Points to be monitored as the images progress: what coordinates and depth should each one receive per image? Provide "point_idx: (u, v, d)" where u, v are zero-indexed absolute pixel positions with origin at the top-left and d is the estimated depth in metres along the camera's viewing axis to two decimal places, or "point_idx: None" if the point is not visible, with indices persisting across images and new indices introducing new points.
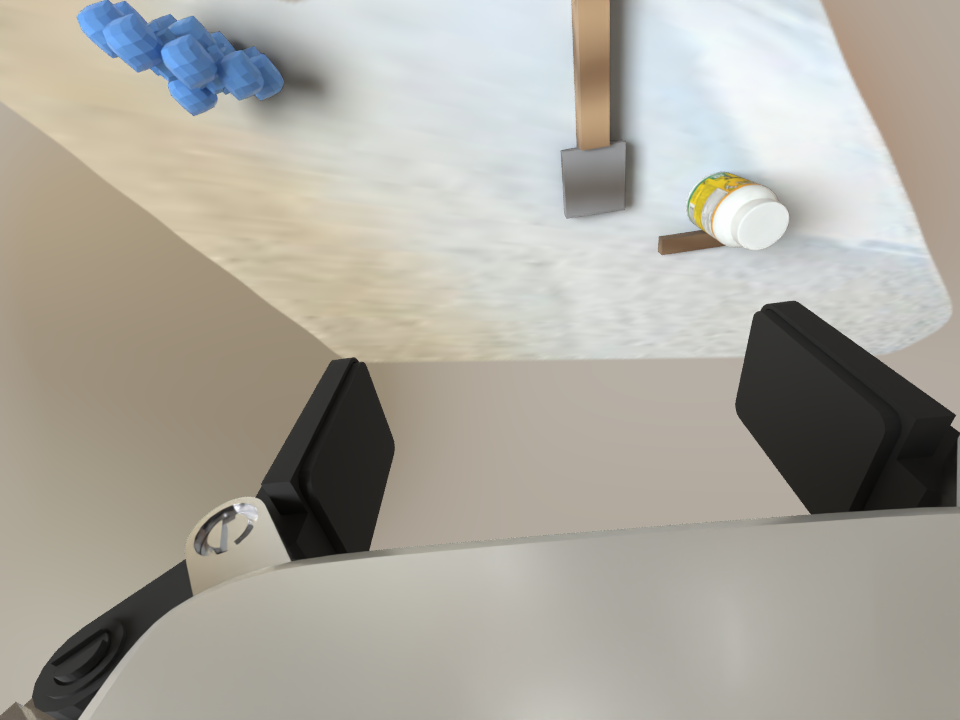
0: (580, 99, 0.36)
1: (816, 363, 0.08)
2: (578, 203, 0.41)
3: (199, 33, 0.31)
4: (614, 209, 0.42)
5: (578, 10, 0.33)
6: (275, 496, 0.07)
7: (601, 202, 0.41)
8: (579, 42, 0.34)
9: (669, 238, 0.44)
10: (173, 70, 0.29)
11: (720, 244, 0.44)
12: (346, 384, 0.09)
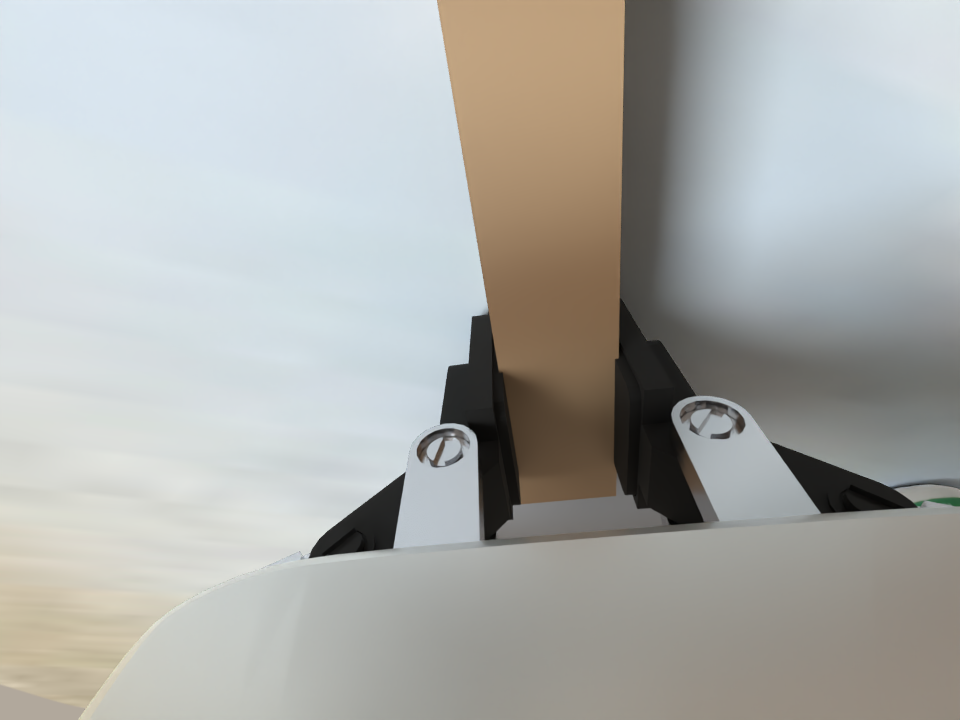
0: None
1: None
2: None
3: None
4: None
5: (445, 23, 0.06)
6: (475, 422, 0.08)
7: None
8: (470, 180, 0.07)
9: None
10: None
11: None
12: None
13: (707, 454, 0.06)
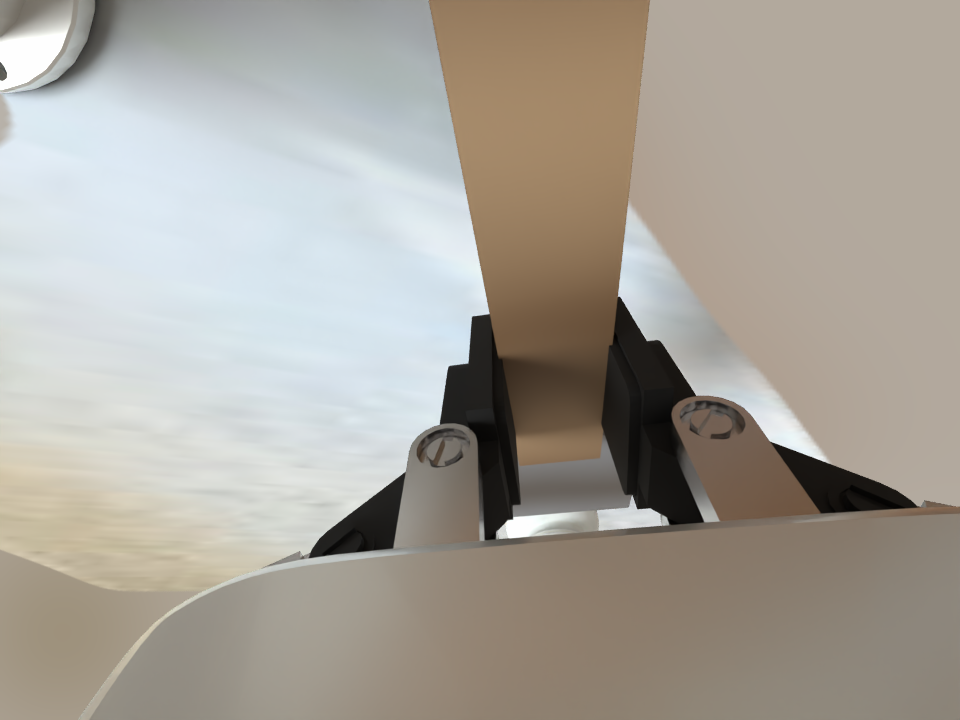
0: None
1: (609, 348, 0.09)
2: None
3: None
4: (604, 508, 0.17)
5: (454, 111, 0.06)
6: (474, 422, 0.08)
7: (575, 502, 0.17)
8: (479, 242, 0.07)
9: None
10: None
11: None
12: None
13: (707, 454, 0.06)
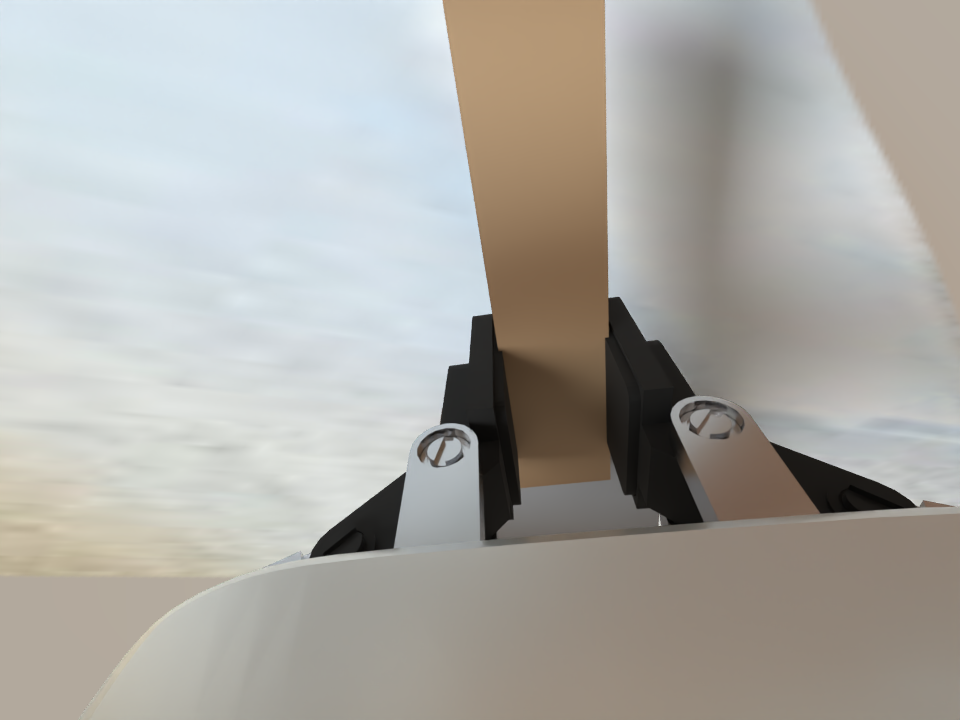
0: None
1: (609, 349, 0.09)
2: None
3: None
4: None
5: (452, 40, 0.07)
6: (475, 422, 0.08)
7: None
8: (473, 176, 0.08)
9: None
10: None
11: None
12: None
13: (706, 454, 0.06)
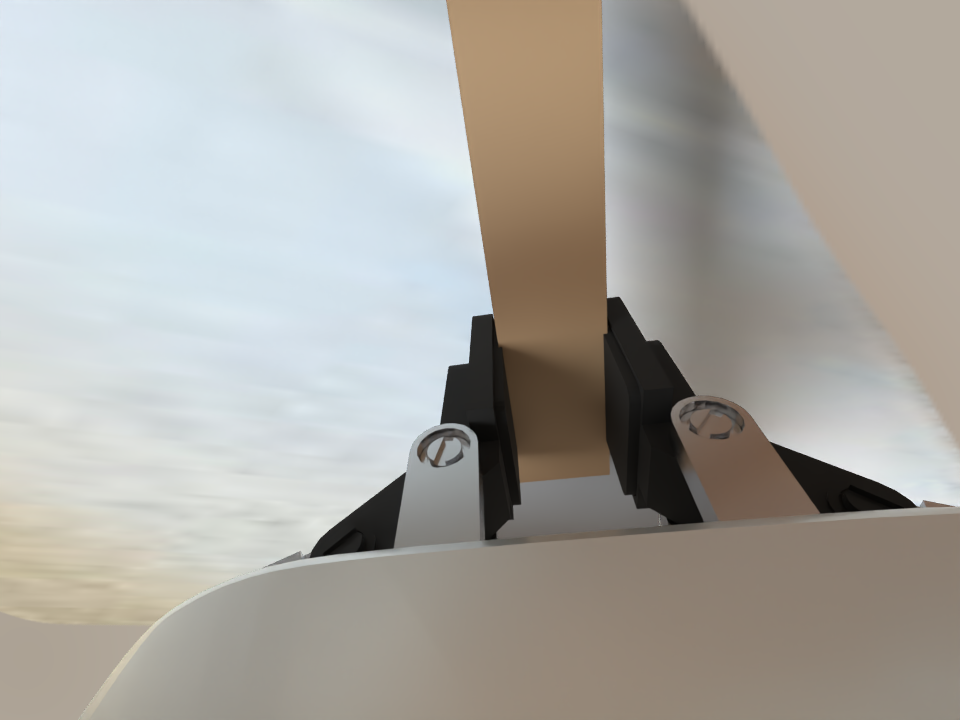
0: None
1: (609, 348, 0.09)
2: None
3: None
4: None
5: (454, 32, 0.07)
6: (475, 422, 0.08)
7: None
8: (474, 165, 0.08)
9: None
10: None
11: None
12: None
13: (706, 454, 0.06)
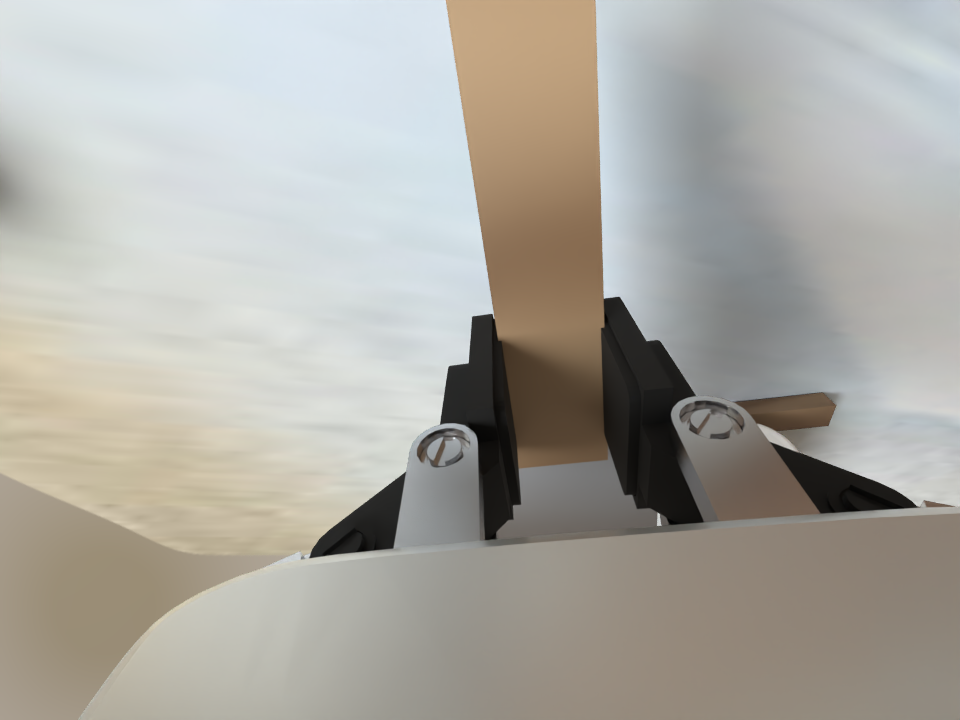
0: None
1: (609, 348, 0.09)
2: None
3: None
4: None
5: (451, 15, 0.07)
6: (475, 422, 0.08)
7: None
8: (471, 147, 0.08)
9: None
10: None
11: None
12: (496, 335, 0.10)
13: (707, 454, 0.06)
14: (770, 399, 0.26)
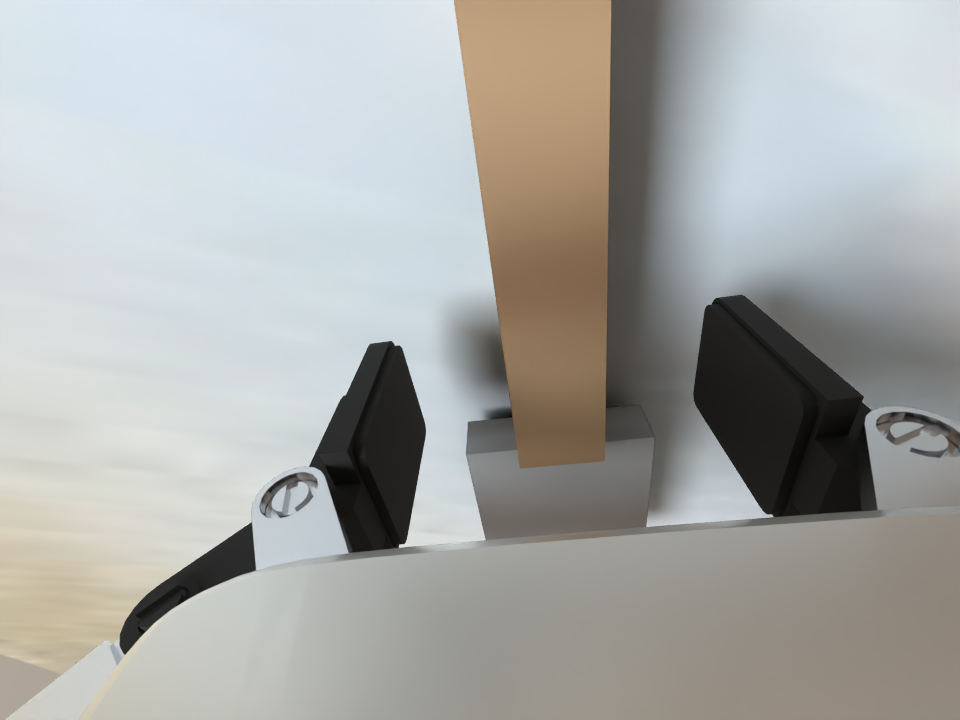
0: None
1: (752, 352, 0.08)
2: None
3: None
4: None
5: (463, 45, 0.07)
6: (331, 466, 0.07)
7: None
8: (481, 176, 0.08)
9: None
10: None
11: None
12: (386, 365, 0.10)
13: (895, 463, 0.06)
14: None
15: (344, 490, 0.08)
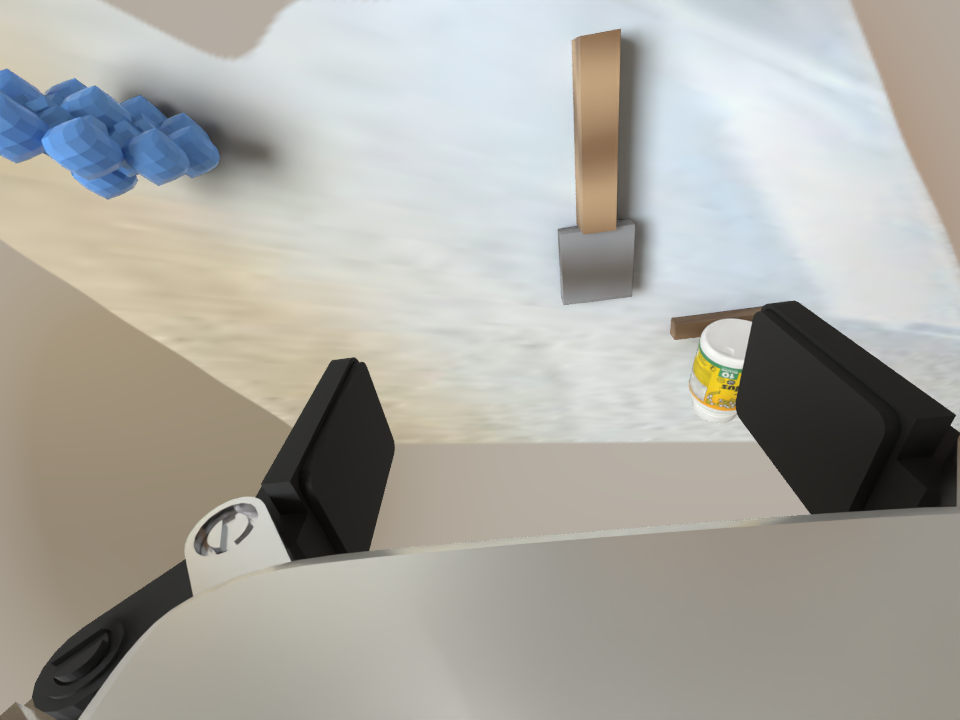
0: (582, 178, 0.30)
1: (816, 363, 0.08)
2: (578, 289, 0.35)
3: (103, 107, 0.25)
4: (620, 296, 0.35)
5: (581, 78, 0.27)
6: (275, 496, 0.07)
7: (605, 288, 0.35)
8: (581, 114, 0.28)
9: (684, 322, 0.38)
10: (59, 162, 0.22)
11: None
12: (346, 384, 0.09)
13: None
14: (752, 308, 0.38)
15: (290, 521, 0.07)
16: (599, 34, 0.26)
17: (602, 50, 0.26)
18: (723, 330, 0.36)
